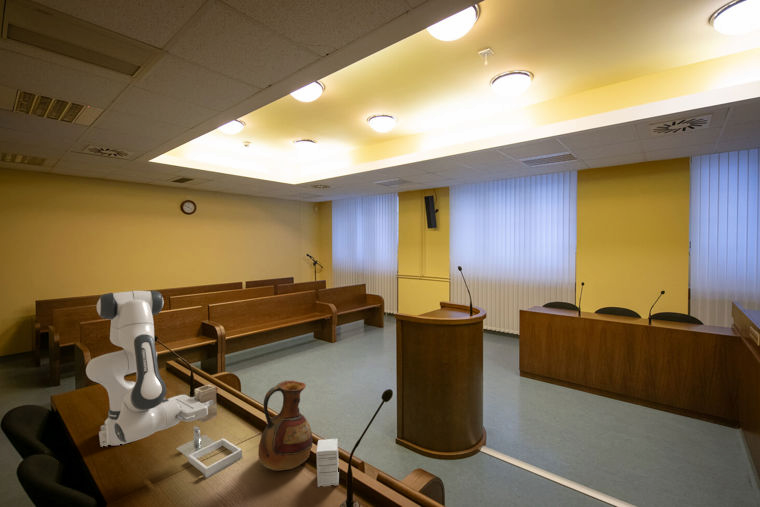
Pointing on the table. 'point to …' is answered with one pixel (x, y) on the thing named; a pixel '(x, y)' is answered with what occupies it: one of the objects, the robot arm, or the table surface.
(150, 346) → the robot arm
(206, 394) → the sleeve
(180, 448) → the base plate with pin
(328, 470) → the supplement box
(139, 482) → the table surface
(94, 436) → the table surface
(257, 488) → the table surface
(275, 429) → the ceramic pitcher
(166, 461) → the table surface
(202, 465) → the rectangular frame
